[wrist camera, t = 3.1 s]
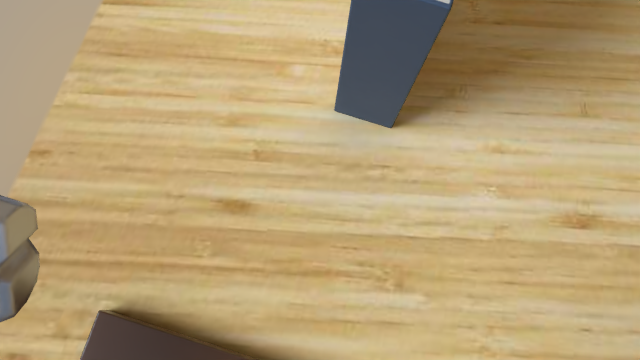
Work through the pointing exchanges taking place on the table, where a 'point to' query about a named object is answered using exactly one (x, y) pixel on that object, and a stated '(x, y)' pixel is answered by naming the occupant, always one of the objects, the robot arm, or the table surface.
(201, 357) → the dark brown board
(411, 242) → the table surface
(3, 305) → the robot arm
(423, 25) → the book
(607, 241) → the table surface
